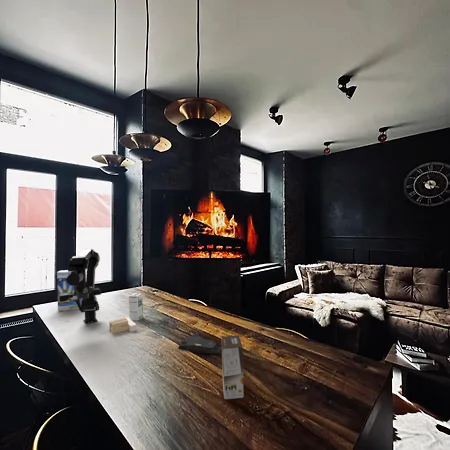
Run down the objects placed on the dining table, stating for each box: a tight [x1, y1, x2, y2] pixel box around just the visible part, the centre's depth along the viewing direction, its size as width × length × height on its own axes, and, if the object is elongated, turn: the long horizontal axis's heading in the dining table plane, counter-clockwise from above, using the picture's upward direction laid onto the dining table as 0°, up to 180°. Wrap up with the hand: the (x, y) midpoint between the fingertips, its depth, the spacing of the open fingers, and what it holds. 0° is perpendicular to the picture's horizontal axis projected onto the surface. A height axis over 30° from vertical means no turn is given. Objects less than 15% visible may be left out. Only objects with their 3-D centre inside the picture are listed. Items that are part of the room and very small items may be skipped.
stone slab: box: [177, 331, 222, 354], centre depth 116 cm, size 22×16×5 cm
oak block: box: [108, 317, 129, 335], centre depth 137 cm, size 6×8×5 cm
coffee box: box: [220, 334, 245, 400], centre depth 85 cm, size 9×6×16 cm
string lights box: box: [56, 269, 81, 311], centre depth 176 cm, size 13×8×26 cm, turn 104°
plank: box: [125, 316, 137, 333], centre depth 141 cm, size 14×3×3 cm, turn 37°
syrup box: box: [128, 292, 144, 321], centre depth 153 cm, size 6×6×14 cm
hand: (80, 311), depth 133 cm, fingers closed
